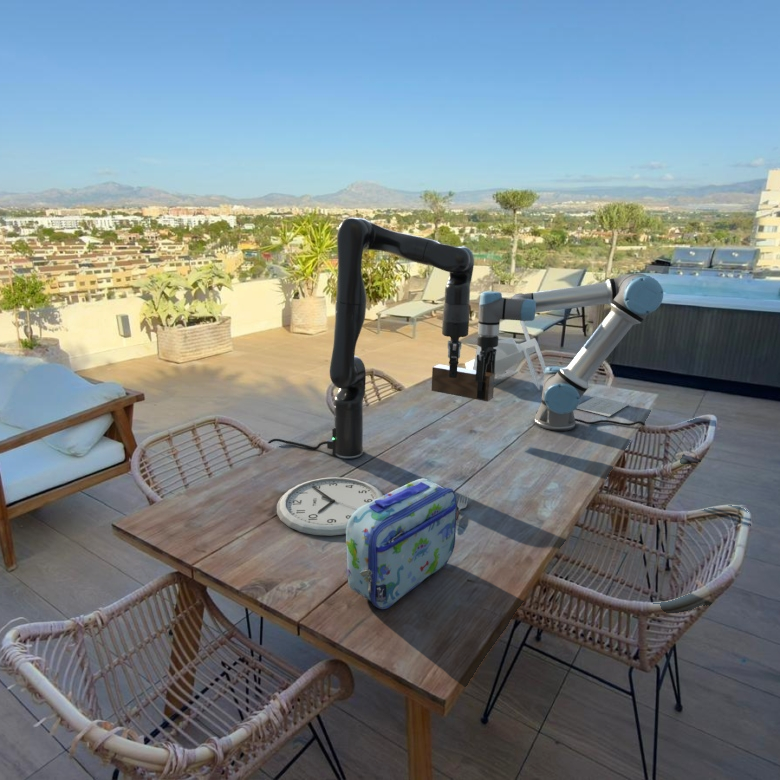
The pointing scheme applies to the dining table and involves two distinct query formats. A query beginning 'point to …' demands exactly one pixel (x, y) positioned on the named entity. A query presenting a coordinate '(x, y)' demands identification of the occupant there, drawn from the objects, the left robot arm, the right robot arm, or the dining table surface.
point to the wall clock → (324, 504)
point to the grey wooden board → (601, 406)
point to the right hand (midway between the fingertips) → (483, 396)
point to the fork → (461, 506)
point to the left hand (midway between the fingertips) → (452, 373)
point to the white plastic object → (513, 355)
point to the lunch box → (400, 540)
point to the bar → (461, 382)
